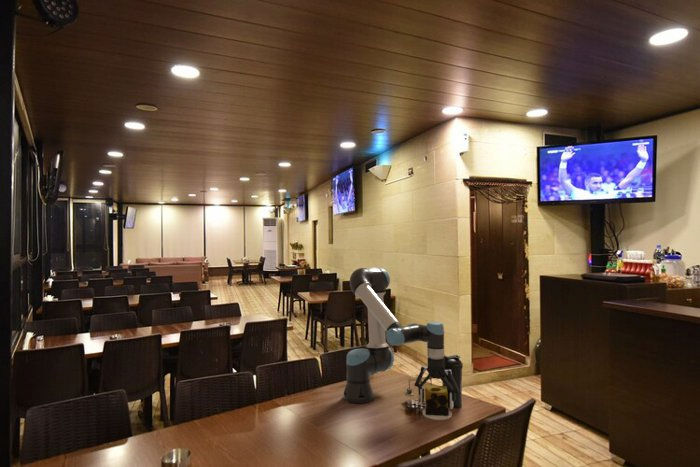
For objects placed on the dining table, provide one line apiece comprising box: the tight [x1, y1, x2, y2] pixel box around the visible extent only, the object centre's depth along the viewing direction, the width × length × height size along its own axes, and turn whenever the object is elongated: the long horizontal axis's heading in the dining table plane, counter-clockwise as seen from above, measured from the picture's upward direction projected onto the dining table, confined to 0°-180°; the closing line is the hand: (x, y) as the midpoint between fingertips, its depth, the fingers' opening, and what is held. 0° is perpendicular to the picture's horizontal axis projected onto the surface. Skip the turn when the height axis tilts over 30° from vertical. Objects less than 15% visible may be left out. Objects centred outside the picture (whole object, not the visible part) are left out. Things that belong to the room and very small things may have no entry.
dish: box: [422, 408, 453, 421], centre depth 186 cm, size 13×13×1 cm
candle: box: [424, 385, 450, 416], centre depth 186 cm, size 10×10×10 cm
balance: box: [403, 374, 433, 403], centre depth 199 cm, size 16×5×14 cm, turn 59°
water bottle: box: [441, 354, 464, 409], centre depth 197 cm, size 10×10×23 cm
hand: (436, 405), depth 186 cm, fingers open, 13 cm apart
